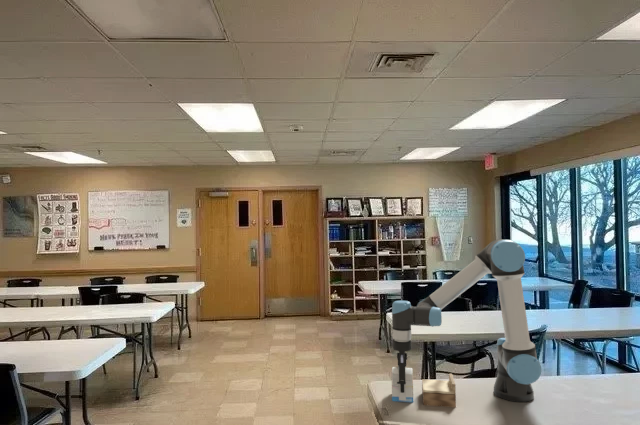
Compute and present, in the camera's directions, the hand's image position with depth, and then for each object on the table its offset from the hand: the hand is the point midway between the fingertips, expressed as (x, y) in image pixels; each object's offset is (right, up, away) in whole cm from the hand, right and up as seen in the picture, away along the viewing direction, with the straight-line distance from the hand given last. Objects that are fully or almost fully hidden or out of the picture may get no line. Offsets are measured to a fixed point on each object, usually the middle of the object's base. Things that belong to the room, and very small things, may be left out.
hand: (402, 394), depth 172 cm
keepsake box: (+14, -2, -3) cm, 14 cm away
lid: (+14, +4, -3) cm, 15 cm away
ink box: (0, -2, 0) cm, 2 cm away
